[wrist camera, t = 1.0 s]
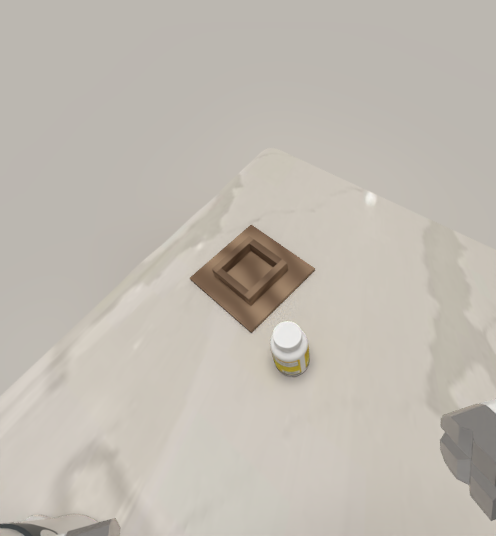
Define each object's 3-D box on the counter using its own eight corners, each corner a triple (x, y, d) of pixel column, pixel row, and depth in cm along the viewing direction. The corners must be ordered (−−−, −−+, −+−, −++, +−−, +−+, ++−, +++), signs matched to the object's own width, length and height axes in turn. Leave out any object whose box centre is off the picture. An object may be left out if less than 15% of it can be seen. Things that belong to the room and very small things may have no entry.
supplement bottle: (293, 337, 63) (290, 308, 55) (316, 362, 61) (316, 336, 53) (267, 357, 62) (259, 332, 54) (289, 384, 59) (284, 361, 51)
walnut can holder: (251, 333, 65) (248, 325, 62) (190, 279, 73) (186, 270, 70) (314, 270, 70) (314, 260, 67) (251, 226, 77) (249, 216, 75)
